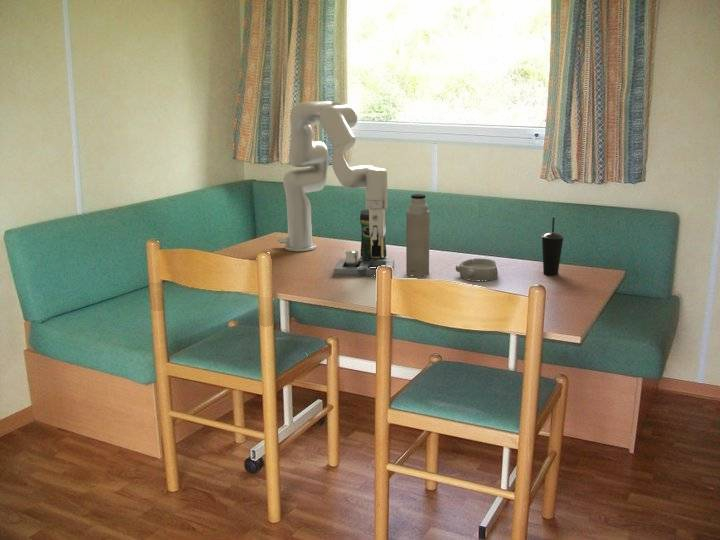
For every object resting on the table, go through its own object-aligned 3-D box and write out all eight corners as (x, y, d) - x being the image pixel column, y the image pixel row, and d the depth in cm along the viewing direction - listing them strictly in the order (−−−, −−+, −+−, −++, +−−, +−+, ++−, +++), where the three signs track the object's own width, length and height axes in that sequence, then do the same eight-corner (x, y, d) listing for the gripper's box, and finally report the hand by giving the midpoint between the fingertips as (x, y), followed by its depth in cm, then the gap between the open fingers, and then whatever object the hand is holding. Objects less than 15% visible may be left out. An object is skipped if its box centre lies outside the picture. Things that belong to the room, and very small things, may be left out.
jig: (333, 275, 270) (333, 268, 269) (340, 265, 284) (339, 258, 283) (390, 277, 268) (390, 270, 267) (394, 266, 281) (394, 259, 280)
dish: (490, 270, 275) (490, 256, 273) (505, 281, 262) (506, 266, 260) (451, 273, 272) (451, 259, 270) (465, 284, 259) (465, 269, 257)
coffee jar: (389, 257, 294) (389, 209, 289) (379, 261, 288) (378, 212, 283) (368, 254, 299) (367, 206, 294) (357, 258, 293) (356, 210, 288)
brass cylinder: (370, 258, 272) (370, 238, 270) (371, 254, 276) (371, 235, 274) (382, 258, 271) (382, 238, 269) (383, 255, 275) (383, 236, 273)
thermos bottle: (401, 273, 271) (401, 195, 264) (416, 269, 277) (417, 192, 269) (418, 278, 266) (419, 197, 258) (433, 273, 271) (434, 194, 264)
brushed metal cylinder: (345, 272, 274) (344, 253, 272) (347, 269, 279) (346, 250, 277) (357, 272, 274) (357, 253, 272) (359, 269, 278) (358, 250, 276)
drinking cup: (549, 278, 263) (552, 220, 258) (534, 273, 270) (537, 216, 264) (566, 275, 267) (570, 218, 261) (551, 270, 273) (554, 214, 268)
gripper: (384, 208, 260) (385, 261, 265) (389, 199, 276) (389, 249, 281) (362, 208, 261) (363, 260, 266) (368, 199, 277) (369, 248, 282)
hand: (377, 254), depth 273 cm, fingers closed on brass cylinder, 4 cm apart
